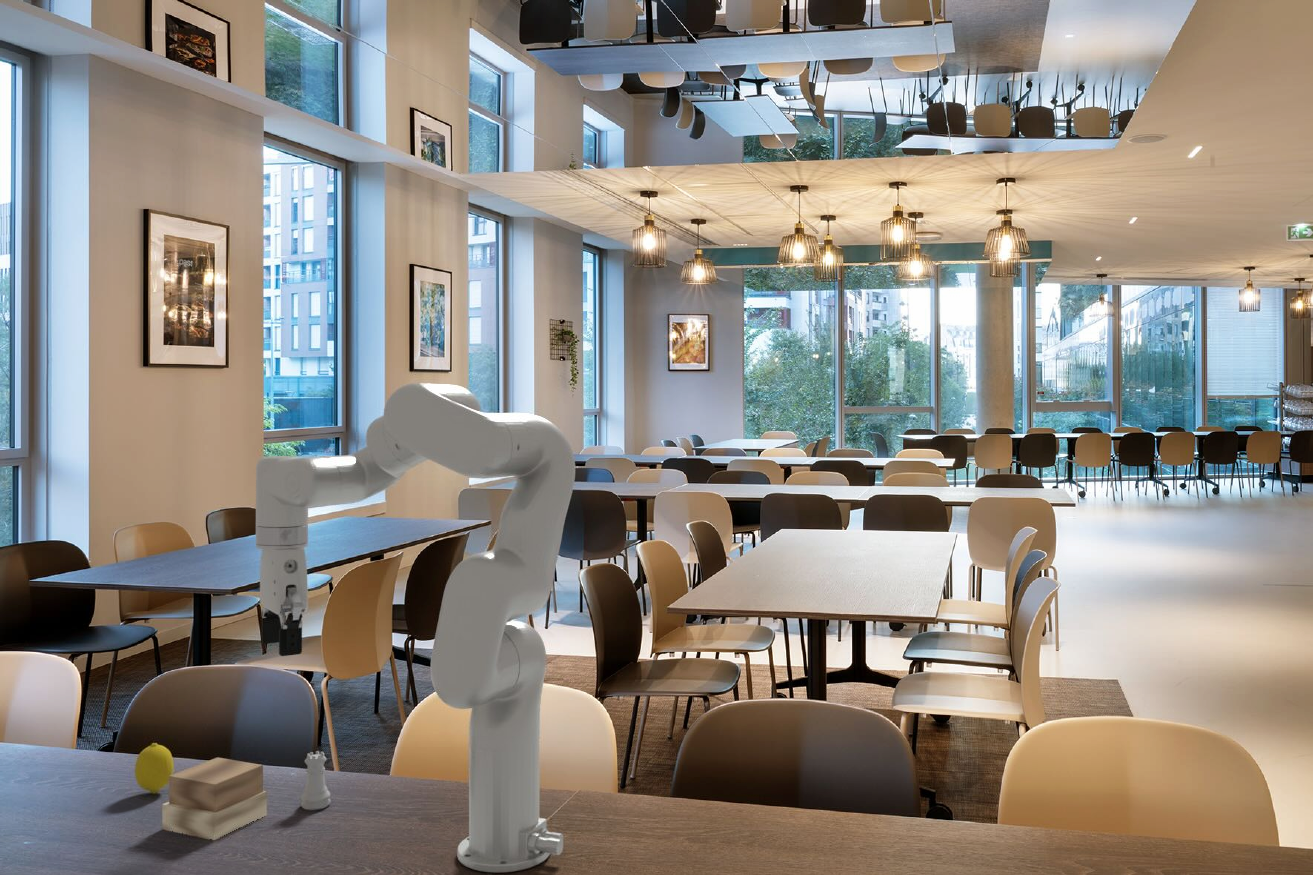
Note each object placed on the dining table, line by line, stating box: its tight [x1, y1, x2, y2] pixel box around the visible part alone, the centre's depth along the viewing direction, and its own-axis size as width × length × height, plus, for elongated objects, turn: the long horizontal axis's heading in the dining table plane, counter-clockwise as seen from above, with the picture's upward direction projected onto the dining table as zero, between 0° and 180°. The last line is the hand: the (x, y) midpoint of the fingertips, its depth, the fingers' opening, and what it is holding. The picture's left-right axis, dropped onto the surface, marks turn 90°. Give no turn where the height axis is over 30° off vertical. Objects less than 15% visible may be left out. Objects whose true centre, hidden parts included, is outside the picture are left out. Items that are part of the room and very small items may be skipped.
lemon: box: [134, 742, 175, 795], centre depth 164 cm, size 6×6×8 cm
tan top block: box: [168, 756, 264, 813], centre depth 152 cm, size 9×9×4 cm
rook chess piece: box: [300, 750, 332, 811], centre depth 159 cm, size 4×4×8 cm
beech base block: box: [161, 790, 268, 841], centre depth 152 cm, size 10×10×4 cm
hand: (281, 648), depth 159 cm, fingers open, 9 cm apart
